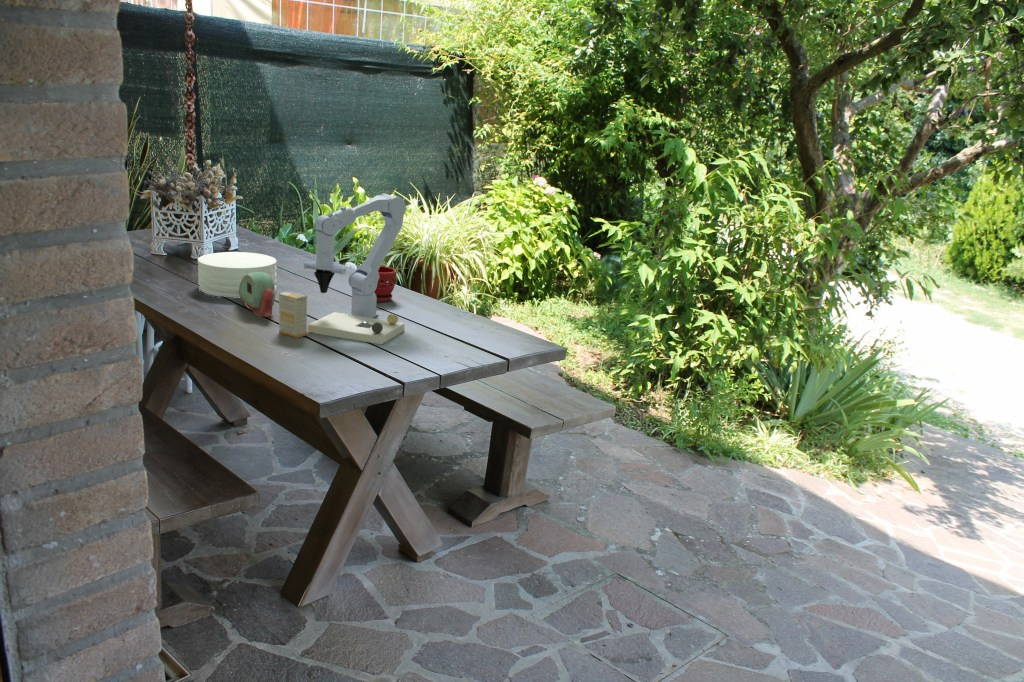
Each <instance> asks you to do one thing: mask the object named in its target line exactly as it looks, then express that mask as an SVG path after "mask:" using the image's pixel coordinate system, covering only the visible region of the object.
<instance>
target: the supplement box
mask: <svg viewBox="0 0 1024 682" xmlns="http://www.w3.org/2000/svg"><path fill="white" fill-rule="evenodd" d="M307 299H308V296H307V295H304V294H300V293H298V292H295V291H284V292H280V293H278V323H279V324H278V331H279V333H280V334H284V335H287V336H290V337H294V338H301V337H303V336H307V335H308V321H307V320H308V318H307V317H308V316H307V315H308V309H307V308H308V307H307V306H308V300H307Z"/></svg>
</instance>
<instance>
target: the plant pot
mask: <svg viewBox="0 0 1024 682" xmlns="http://www.w3.org/2000/svg"><path fill="white" fill-rule="evenodd" d="M378 273H379V277H380V278H379V280H378V282H377V288H376V290H375V291H374V293H375V294H376V297H377V303H383V302H388V301H390V300H391V299H393V294H392V292H393V290H394V288H395V285H396V281H397V270H396V269H395V268H392V267H389V266H384V265H383V266H382V265H381V266H380V268H379V270H378Z"/></svg>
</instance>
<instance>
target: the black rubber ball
mask: <svg viewBox="0 0 1024 682" xmlns="http://www.w3.org/2000/svg"><path fill="white" fill-rule="evenodd" d="M382 330H383V326H382V324H381V323H378V322H377V323H374V324H373V325H372V331H373V332H374V333H380V332H381V331H382Z"/></svg>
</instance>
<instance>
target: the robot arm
mask: <svg viewBox="0 0 1024 682" xmlns="http://www.w3.org/2000/svg"><path fill="white" fill-rule="evenodd" d="M376 211H378V212H379V213H380V215H381V216H382V217H383V220H384V226H383V227H382V230H381V231H380V233H379V235H378V236H377V238H376V240H375V241H374V244H372V247H371V249H370V251H369V252H368V255H367V256H366V259H365V260H364V262H363V263H361V264H359V265H358V266H357V267H356V268H355V270H354V271H353V272H352V273H350V275H349V277H348V285H349V287H350V288H351V309H350V310H351V311H350V315H355V316H362V317H368V318H374V319H375V318H376V317H377V316H379V315H380V314H379V313H377V303H378V302H377V297H376V294H375V293H374V291H375V290H376V288H377V282H378V280H379V278H380V277H379V273H378V270H379V268H380V266H382V264H383V263H384V261H385V258H386V257H387V255H388V254H389V251H390V249H391V248H392V246H393V244H394V242H395V240H396V239H397V236H398V235H399V233H400V232H401V229H402V227H403V223H404V216H405V213H406V212H407V205H406V203H405V201H404V199H403V198H402V197H400V196H395V195H391V194H388V193H384V192H383V193H381V194H378V195H375V196H373V197H372V198H371V199H369V200H366V201H365V202H363V203H361V204H358V205H356V206H354V207H352V208H351V207H349V206H341V207H340V209H338V210H336V211H333V212H331V211H330V212H328V213H327V215H324V214H321V215H320V216H317V218H316V219H315V222H313V228H314V230H315V231H316V251H315V252H316V256H315V262H311V261H310V262H309V261H306V262H303V269H305V270H307V269H309V270H315V271H314V276H315V278H316V280H317V283H318V286H319V290H320V294H326V293H328V290H329V286H330V284H331V281H332V279H333V277H334V275H335V274H339V275H342V276H344V275H345V274H346V271H347V267H342V266H339V265H336V264H334V262H335V261H334V260H335V237H336V234H337V233H338V231H339V230H340V229H342V228H345V227H347V226H350V225H352V224H354V223H355V221H356V220H357V218H360V217H363V216H365V215H367V214H371V213H373V212H376Z"/></svg>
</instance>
